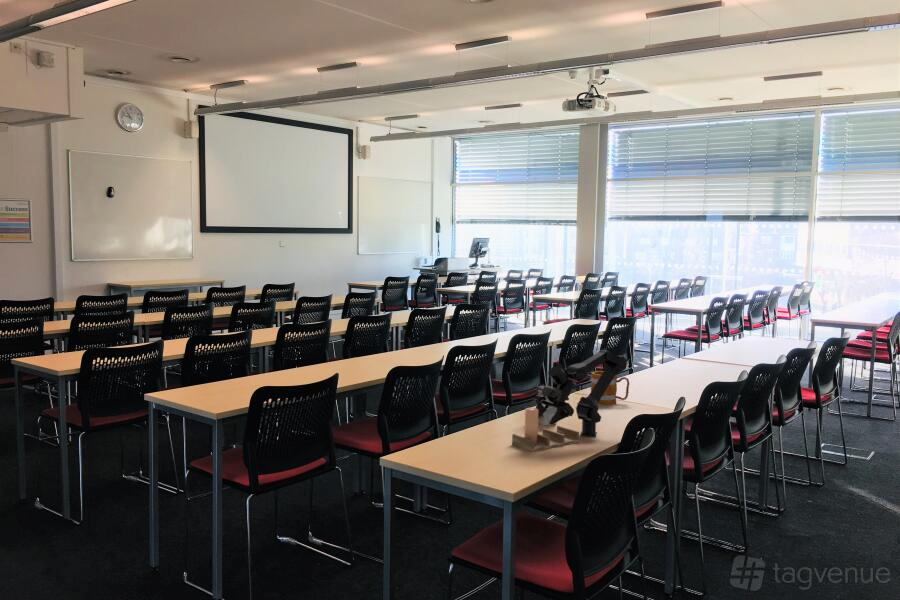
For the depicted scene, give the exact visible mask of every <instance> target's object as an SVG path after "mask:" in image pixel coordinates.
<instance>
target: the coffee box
mask: <svg viewBox="0 0 900 600" xmlns="http://www.w3.org/2000/svg"><path fill="white" fill-rule="evenodd" d="M543 387H548V388H551V389H554V388H555V387H552V386H551V385H536V387H535V388H536V393H535V394H536V395H540V396H544V397H545V398H546V399H547V396H546V395H544V394H541V393H542V390H543ZM536 395H535V396H536ZM547 401H549V399H547ZM535 408H537V404H536V403H535ZM546 410H547V411H546V412H544V413H543V414H542V415H541V416H540V417H539V418H538V424H541V425H543V426H552V425H551V424H550V422H551V420H552V418H553V416H554V415H555V413H556V411H557V408H554V407H551V406H549V407H548V408H547V409H546ZM554 424H556V425H557V422H556V423H554Z"/></svg>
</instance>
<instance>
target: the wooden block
mask: <svg viewBox="0 0 900 600" xmlns="http://www.w3.org/2000/svg"><path fill="white" fill-rule="evenodd" d="M524 410H525V411H524V414H525V415H524V436H523V437H525V438H528V439H531V440H533V441H534V446H535V445H537V440H538V434H539V431H538V430H539V422H538V409H537V408H536V407H526V408H525V409H524Z"/></svg>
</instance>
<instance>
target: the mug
mask: <svg viewBox="0 0 900 600" xmlns="http://www.w3.org/2000/svg"><path fill="white" fill-rule="evenodd" d="M603 372H604V370H595V371H590V374H591V375H590V376H591V382H590V392H591V391H592V389H593V388H594V386H595V385H596V383H597V381H598V380H599V378H600V377H601V375H602V373H603ZM622 380H625V381H626V388H625V396H624V397H621V396H618V395H617V390H618V384H617V383H620V382H621V381H622ZM629 389H630V380H629V378H627V377H626V376H623V377H620V378H619V379H618V374H617V375H616V376H615V377H614V378H613V380H612V381H611V383H610V385H609V386H608V388H607V389H606V391H605V393H604V394H603V396H602V397H601V399H600V401H599V403H598V404H602V405H601V406H613V405H616V404H617V399H618V400H620V401H625V400H627V398H628V396H629ZM612 404H613V405H612Z"/></svg>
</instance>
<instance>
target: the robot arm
mask: <svg viewBox="0 0 900 600" xmlns="http://www.w3.org/2000/svg"><path fill="white" fill-rule="evenodd" d="M602 364H604V370H603V371H604V372H603V373H602V375H601V377H600V378H599V380H598V381H597V383H596V385H595V386H594V388H593V389H592V391H591V390H590V393H589V394H588V396H582V397H580V399H579V401H578V402H577V403H576V406H575V409H574V408H573V407H572V405H571V404H570V403H569V402H567V401H569V400H570V398H569V396H570V395H571V393H572V391H573V390H575V391H578V390H579V386H578V383H577V382H582V381H583V380H585V379H586V378H587V377H588V375H589V372H590V373H591V372H592V371H593V370H594V369H595V368H597V367H599V366H600V365H602ZM627 365H628V361H627V359H626V356H623V355H619V354H618V355H617V354H615V353H613V352H611V351H609V350H604V349H601V350H599V351H598V352H597V353H595V354H593V355H592V356H590V357H588V358H587V359H585V360H583V361H582V362H580V363H574V364H571V365H568V367H566V368H565V367H564V366H563V364H561V363H557V364H556V365H554V366H552V367H551V368H549V370H548V373H547V374H548V376H549V378H551V379H552V381H553V382H554V383H555V385H558V386H557V387H553V388H554V389H551V388H548V387H543V390H542V393H541V394H544V395H546V396H547V399H549V401H547V399H546V398H545V397H544V396H540V395H535V397H534V398H533V400H534V403H535V405H536V404H537V409H538V418H539V417H540V416H541V415H542V414H543V413H544V412H546V411H547V410H546V409H547V408H548V407H549V406H551V407H554V408H557V411H556V413H555V415H554V416H553V418H552V420H551V422H550V424H551V425H550V426H554V425H553V424H554V423H556V424H557V423H558V422H559V421H562V420H563V419H566V418H569V417H573V415H574V413H575V411H576V415H577V419H578V420H582V421H581V424H582V425H581V431H580V436H581V435H585V436H584V437H593V436H596V437H597V435H596V434H598V431H596V430H597V423H600V422H601V419H602V416H601V414H600V413H599V412H598V411H599V406H600V405H598V403H599V401H600V399H601V397H602V396H603V394H604V393H605V391H606V389H607V388H608V386H609V385H610V383H611V381H612V380H613V378H614V377H615V376H616V375H617V376H618V375H619V374H621V373H622V372H623V371H624V369H625V368H626V367H627ZM574 381H576V382H574Z"/></svg>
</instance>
